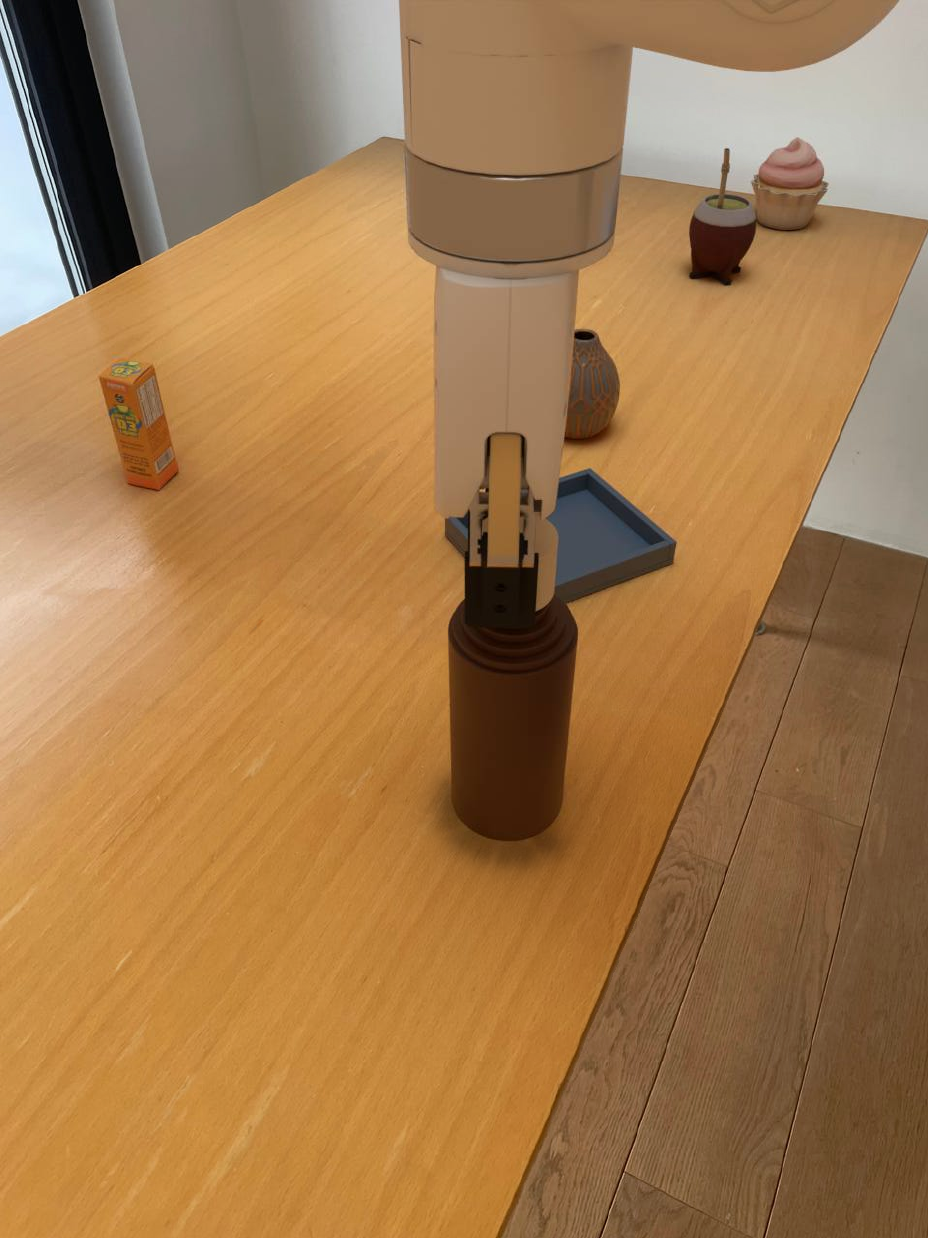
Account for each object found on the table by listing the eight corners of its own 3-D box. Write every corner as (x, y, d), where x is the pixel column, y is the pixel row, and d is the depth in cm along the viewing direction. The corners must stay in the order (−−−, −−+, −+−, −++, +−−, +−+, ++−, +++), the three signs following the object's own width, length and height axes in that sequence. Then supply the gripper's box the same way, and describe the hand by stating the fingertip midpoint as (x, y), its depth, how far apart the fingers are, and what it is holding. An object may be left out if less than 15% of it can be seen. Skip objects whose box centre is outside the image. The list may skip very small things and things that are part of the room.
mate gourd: (726, 258, 117) (751, 119, 107) (762, 285, 112) (791, 141, 102) (668, 266, 116) (688, 126, 106) (702, 294, 110) (726, 148, 100)
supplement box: (123, 485, 82) (93, 373, 75) (147, 463, 85) (120, 353, 78) (158, 493, 81) (131, 380, 75) (181, 471, 84) (157, 360, 77)
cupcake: (728, 215, 128) (742, 130, 121) (787, 204, 131) (805, 121, 124) (774, 240, 121) (792, 153, 115) (836, 228, 124) (857, 142, 118)
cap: (545, 560, 49) (549, 506, 47) (563, 610, 47) (568, 556, 45) (468, 568, 49) (468, 514, 47) (481, 619, 46) (482, 565, 44)
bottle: (523, 737, 62) (535, 493, 49) (584, 810, 57) (614, 564, 45) (431, 779, 59) (421, 534, 47) (488, 858, 55) (493, 612, 43)
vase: (631, 433, 88) (643, 339, 82) (570, 457, 85) (577, 361, 80) (581, 400, 93) (589, 309, 87) (521, 422, 90) (525, 329, 84)
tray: (588, 488, 82) (590, 467, 81) (673, 563, 75) (677, 541, 73) (444, 535, 77) (444, 513, 76) (520, 620, 70) (521, 598, 68)
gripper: (422, 126, 42) (431, 491, 54) (384, 293, 30) (408, 719, 42) (601, 128, 42) (571, 494, 54) (640, 297, 30) (589, 723, 42)
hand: (500, 589), depth 48 cm, fingers closed on cap, 3 cm apart
